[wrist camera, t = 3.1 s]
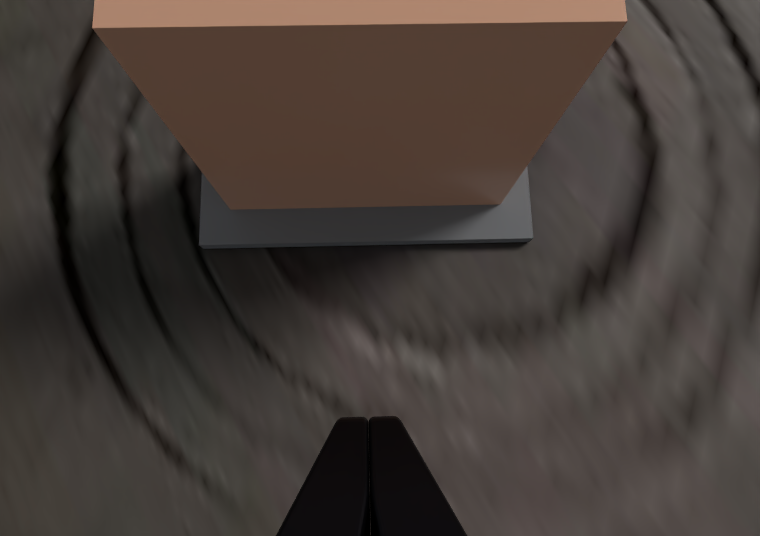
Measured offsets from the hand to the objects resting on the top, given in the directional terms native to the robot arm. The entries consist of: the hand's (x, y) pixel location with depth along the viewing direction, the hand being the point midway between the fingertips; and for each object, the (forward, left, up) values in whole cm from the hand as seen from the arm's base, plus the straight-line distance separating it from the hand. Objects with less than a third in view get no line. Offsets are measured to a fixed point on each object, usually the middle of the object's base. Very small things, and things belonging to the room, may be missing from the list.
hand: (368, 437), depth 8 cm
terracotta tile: (+6, +5, -10) cm, 13 cm away
